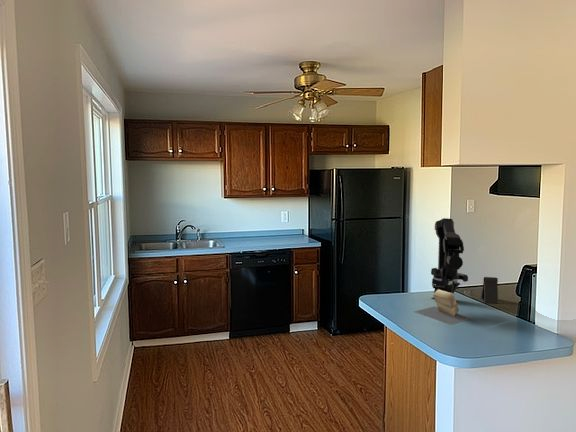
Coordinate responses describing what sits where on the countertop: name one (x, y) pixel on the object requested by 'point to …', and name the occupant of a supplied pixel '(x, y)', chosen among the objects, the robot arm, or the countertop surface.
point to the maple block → (446, 302)
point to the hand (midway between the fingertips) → (449, 297)
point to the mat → (442, 315)
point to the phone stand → (490, 290)
